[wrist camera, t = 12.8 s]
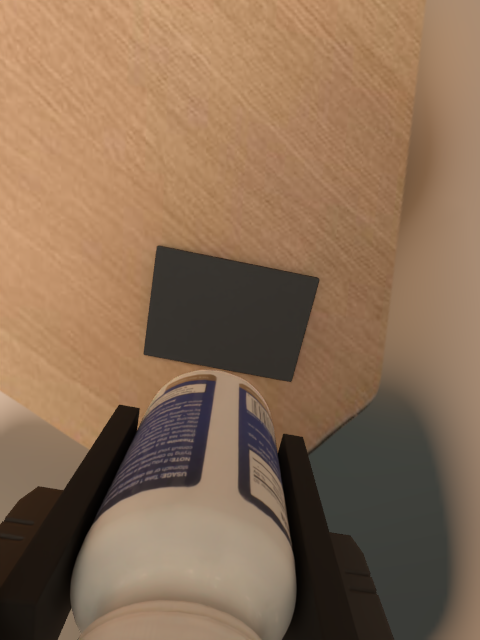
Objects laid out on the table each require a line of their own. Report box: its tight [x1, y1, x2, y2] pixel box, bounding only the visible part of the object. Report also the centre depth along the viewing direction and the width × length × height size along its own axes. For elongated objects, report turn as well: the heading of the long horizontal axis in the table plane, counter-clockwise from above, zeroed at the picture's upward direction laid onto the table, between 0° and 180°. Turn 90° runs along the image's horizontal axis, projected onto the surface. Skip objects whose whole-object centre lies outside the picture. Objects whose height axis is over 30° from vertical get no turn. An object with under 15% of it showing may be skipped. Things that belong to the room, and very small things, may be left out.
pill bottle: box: [70, 370, 297, 640], centre depth 10 cm, size 5×5×10 cm
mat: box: [144, 246, 319, 382], centre depth 30 cm, size 14×10×1 cm
